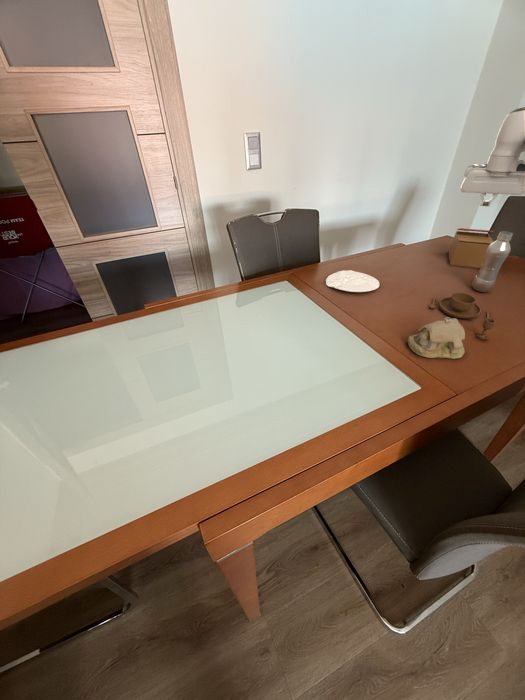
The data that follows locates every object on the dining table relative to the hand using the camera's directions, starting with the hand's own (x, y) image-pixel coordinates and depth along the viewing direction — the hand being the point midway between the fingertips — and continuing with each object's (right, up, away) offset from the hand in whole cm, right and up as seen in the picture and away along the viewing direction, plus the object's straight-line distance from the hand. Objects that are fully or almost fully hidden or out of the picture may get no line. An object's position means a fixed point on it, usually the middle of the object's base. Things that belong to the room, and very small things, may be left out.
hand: (484, 205), depth 117 cm
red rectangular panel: (+1, -7, +7) cm, 10 cm away
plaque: (-52, -30, 0) cm, 60 cm away
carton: (0, -18, +11) cm, 21 cm away
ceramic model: (-38, -56, -32) cm, 74 cm away
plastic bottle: (-8, -35, -8) cm, 36 cm away
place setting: (-24, -46, -21) cm, 56 cm away
